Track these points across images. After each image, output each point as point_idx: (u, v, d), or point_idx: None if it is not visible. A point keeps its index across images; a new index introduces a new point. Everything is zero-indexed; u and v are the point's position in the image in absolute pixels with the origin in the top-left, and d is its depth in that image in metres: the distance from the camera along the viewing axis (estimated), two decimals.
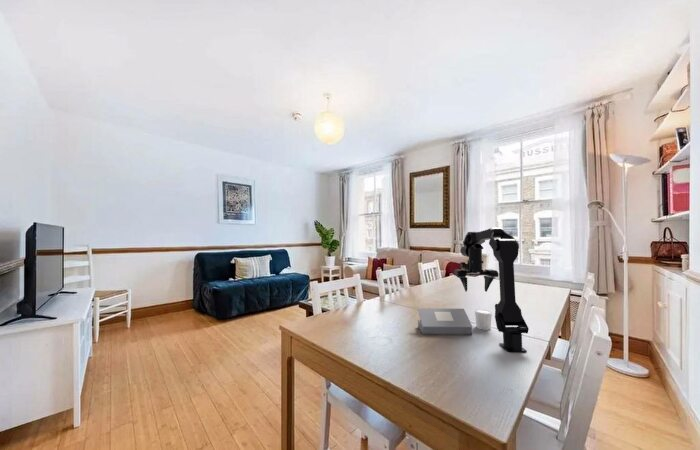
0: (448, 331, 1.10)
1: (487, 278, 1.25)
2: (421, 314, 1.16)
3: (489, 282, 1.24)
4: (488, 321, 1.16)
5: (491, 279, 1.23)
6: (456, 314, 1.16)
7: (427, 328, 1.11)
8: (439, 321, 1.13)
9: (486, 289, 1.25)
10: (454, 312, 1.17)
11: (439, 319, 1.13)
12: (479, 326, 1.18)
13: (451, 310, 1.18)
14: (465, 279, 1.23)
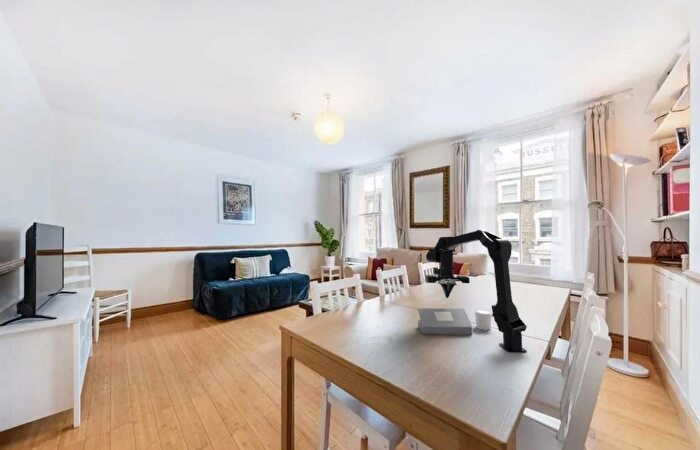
0: (448, 331, 1.10)
1: (449, 284, 1.22)
2: (421, 314, 1.16)
3: (450, 288, 1.21)
4: (488, 321, 1.16)
5: (452, 285, 1.21)
6: (456, 314, 1.16)
7: (427, 328, 1.11)
8: (439, 321, 1.13)
9: (447, 295, 1.22)
10: (454, 312, 1.17)
11: (439, 319, 1.13)
12: (479, 326, 1.18)
13: (451, 310, 1.18)
14: (445, 285, 1.21)
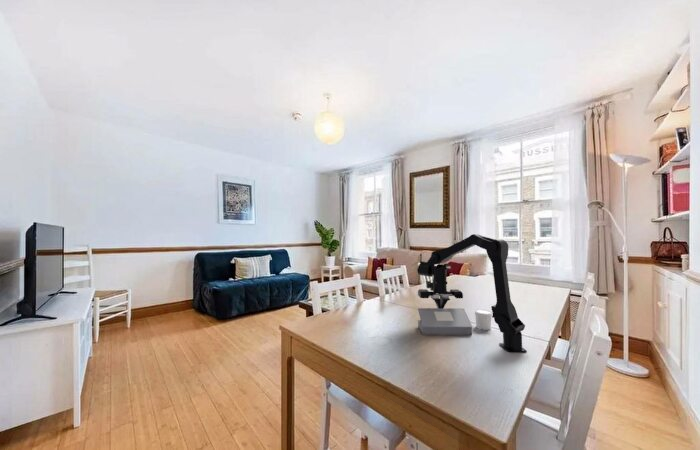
0: (448, 331, 1.10)
1: (442, 299, 1.19)
2: (421, 314, 1.16)
3: (443, 304, 1.18)
4: (488, 321, 1.16)
5: (445, 301, 1.18)
6: (456, 314, 1.16)
7: (427, 328, 1.11)
8: (439, 321, 1.13)
9: None
10: (454, 312, 1.17)
11: (439, 319, 1.13)
12: (479, 326, 1.18)
13: (451, 309, 1.18)
14: (438, 301, 1.18)
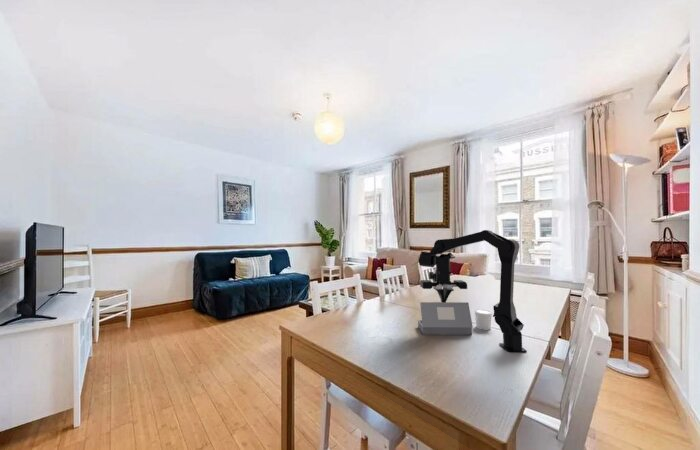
0: (448, 331, 1.10)
1: (445, 290, 1.15)
2: (423, 310, 1.13)
3: (447, 294, 1.13)
4: (488, 321, 1.16)
5: (449, 291, 1.13)
6: (459, 310, 1.13)
7: (427, 328, 1.11)
8: (440, 320, 1.11)
9: None
10: (457, 307, 1.13)
11: (440, 317, 1.11)
12: (479, 326, 1.18)
13: (455, 304, 1.14)
14: (441, 291, 1.13)
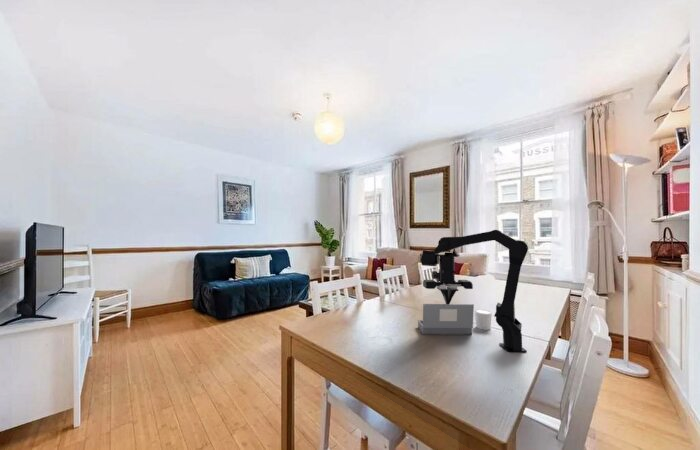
0: (448, 331, 1.10)
1: (449, 290, 1.09)
2: (425, 312, 1.10)
3: (451, 295, 1.08)
4: (488, 321, 1.16)
5: (453, 291, 1.08)
6: (462, 312, 1.09)
7: (427, 328, 1.11)
8: (441, 321, 1.10)
9: (448, 302, 1.09)
10: (461, 309, 1.09)
11: (442, 319, 1.10)
12: (479, 326, 1.18)
13: (459, 306, 1.09)
14: (445, 291, 1.08)
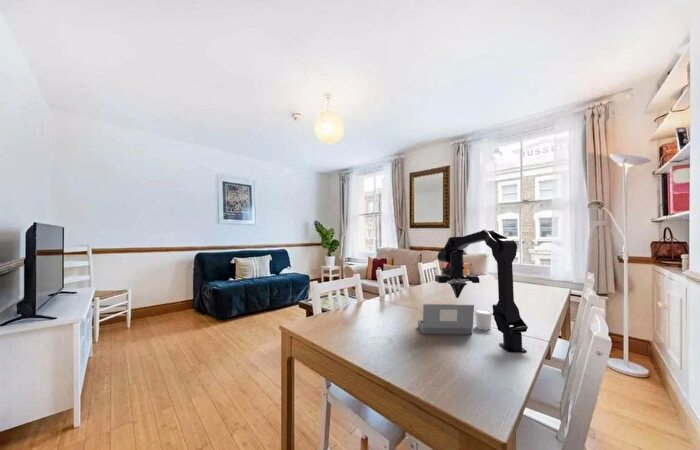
0: (448, 331, 1.10)
1: (459, 284, 1.23)
2: (425, 313, 1.09)
3: (460, 288, 1.22)
4: (488, 321, 1.16)
5: (462, 285, 1.21)
6: (462, 313, 1.09)
7: (427, 328, 1.11)
8: (441, 321, 1.10)
9: (458, 295, 1.23)
10: (461, 310, 1.09)
11: (442, 319, 1.09)
12: (479, 326, 1.18)
13: (459, 307, 1.09)
14: (456, 285, 1.21)
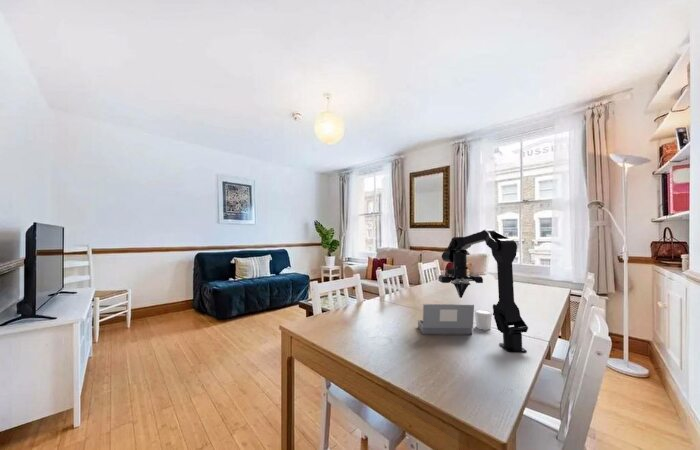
0: (448, 331, 1.10)
1: (462, 284, 1.24)
2: (425, 313, 1.09)
3: (464, 288, 1.22)
4: (488, 321, 1.16)
5: (466, 285, 1.22)
6: (462, 313, 1.09)
7: (427, 328, 1.11)
8: (441, 321, 1.10)
9: (461, 295, 1.24)
10: (461, 310, 1.09)
11: (442, 319, 1.09)
12: (479, 326, 1.18)
13: (459, 307, 1.09)
14: (459, 285, 1.22)
